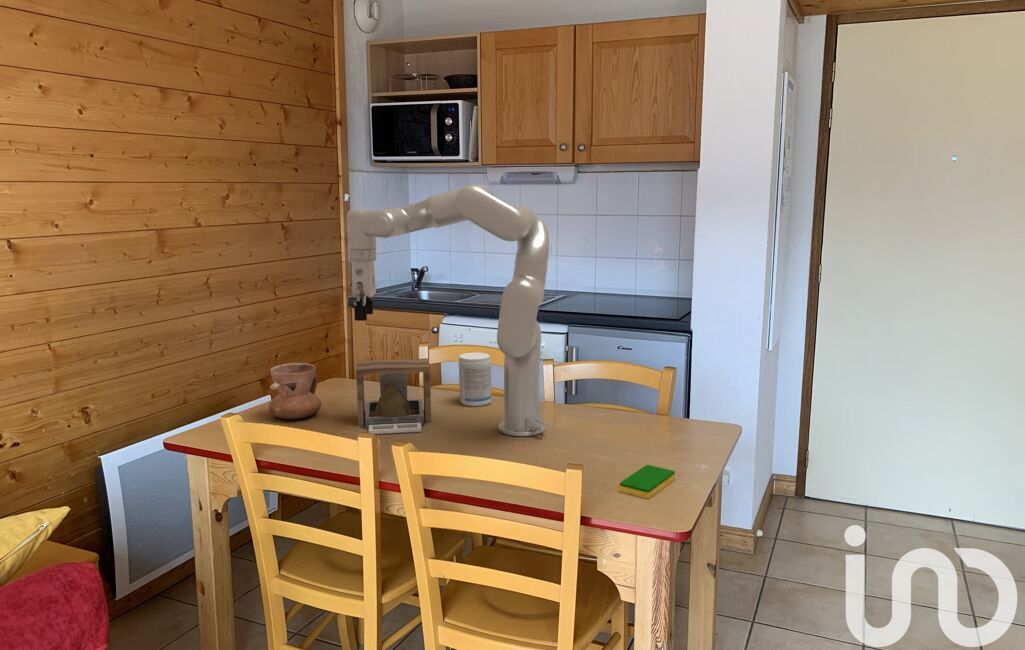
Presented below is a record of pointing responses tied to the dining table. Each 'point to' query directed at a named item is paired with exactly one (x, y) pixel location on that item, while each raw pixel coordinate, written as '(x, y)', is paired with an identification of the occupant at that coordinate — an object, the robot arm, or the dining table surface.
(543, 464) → the dining table surface
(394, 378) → the slider
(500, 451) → the dining table surface
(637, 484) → the dish sponge
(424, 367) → the tunnel
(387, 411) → the rock
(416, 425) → the plate
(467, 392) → the supplement tub
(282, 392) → the ceramic jug
